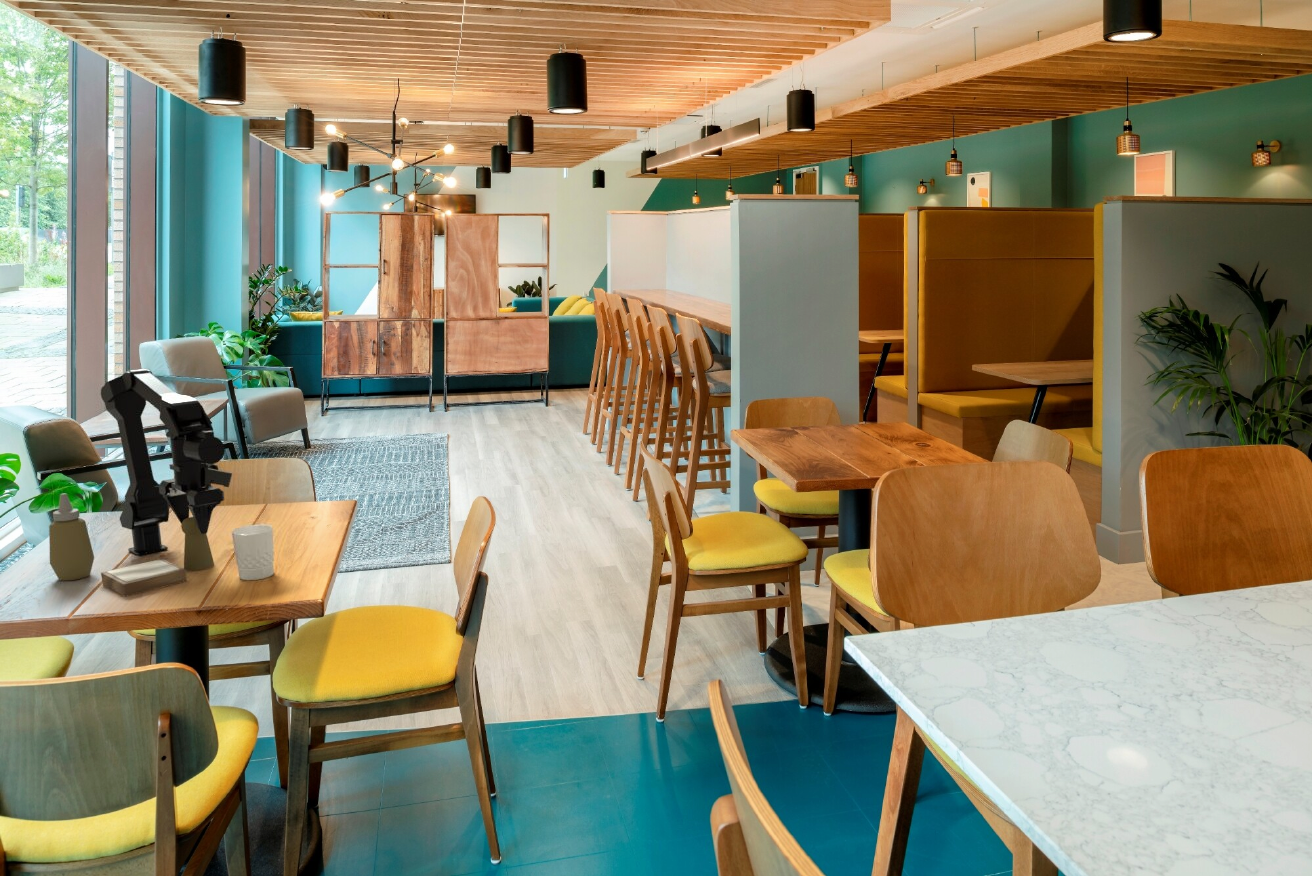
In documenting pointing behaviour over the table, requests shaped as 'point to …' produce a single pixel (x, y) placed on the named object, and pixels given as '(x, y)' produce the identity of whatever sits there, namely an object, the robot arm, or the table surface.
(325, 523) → the table surface
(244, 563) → the white cup
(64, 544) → the squeeze bottle
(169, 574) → the walnut picture frame
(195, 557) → the cork
